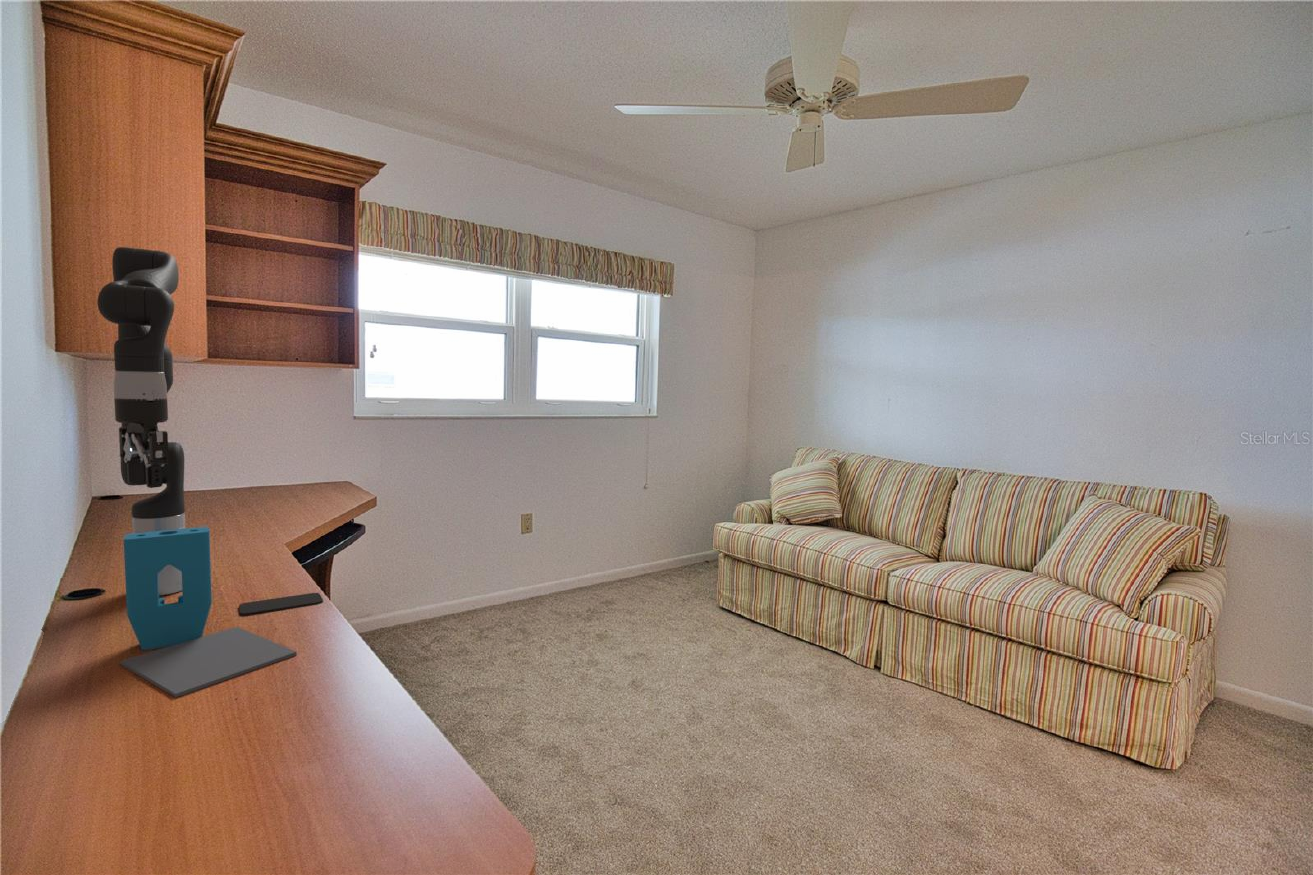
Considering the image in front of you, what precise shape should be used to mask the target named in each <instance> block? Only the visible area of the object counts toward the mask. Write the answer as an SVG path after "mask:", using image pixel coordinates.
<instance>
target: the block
mask: <svg viewBox="0 0 1313 875" xmlns="http://www.w3.org/2000/svg"><path fill="white" fill-rule="evenodd" d="M210 538H211V536H210V526H200V527H199V526H198V527H197V526H196V527H188V528H187V527H186V529H175V530H164V531H153V532H142V533H133V532H132V533H127V534H124V537H123V555H124V575H125V576H124V577H125V578H124V580H125V597H126V616H127V619H128V621H129V624H130V626H131V628H132V630H133V632H134V634H135V637H136V640H137V642H138V644H139V646H140V649H141V650H142V651H148V650H149V651H150V650H154V649H155V650H157V649H163V648H166V647H169V646H173V645H176V644H180V643H183V642H187V641H190V640H193V639H197V638H200V637H203V635H204V630H205V628H206V624H207V620H208V617H209V613H210V611H211V607H212V603H213V595H212V592H213V591H212V568H211V566H212V564H211V562H212V561H211V542H210V540H211V539H210ZM167 565H172V566H173V567H175V568H177V569H178V570H180V571H181V572H182V590H181V592H182V594H181V595H178V596H177V601H176V602H171V603H165V597H160V595H159V584H158V573H159V572H160V571H161V570H162V569H163V568H164V567H166V566H167Z"/></svg>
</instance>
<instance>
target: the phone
mask: <svg viewBox="0 0 1313 875" xmlns="http://www.w3.org/2000/svg"><path fill="white" fill-rule="evenodd" d="M323 603H324V599H323V598H322V596H321V594H320V593H319V592H309V593H304V594H302V593H301V594H296V595H290V596H282V597H276V598H270V599H262V600H255V601H249V602H248V601H247V602H243V603H239V605H238V608H239V611H238V612H239V616H241V617H246V616H254V615H260V614H265V613H266V614H267V613H272V612H278V611H285V610H290V609H297V608H304V607H308V606H315V605H319V604H323Z"/></svg>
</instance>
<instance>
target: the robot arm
mask: <svg viewBox="0 0 1313 875" xmlns="http://www.w3.org/2000/svg"><path fill="white" fill-rule="evenodd" d="M111 259H112V260H111V261H112V263H111V265H112V275H113V276H112V279H113V281H111V282H109V283H107V284H105V285H104V286H102V288H101V290H100V291H99V292H98V296H97V304H96V305H97V308H98V311H99V314H100V315H101V316H102V317H103V318H104V319H105V320H106V321H109V322H110V323H112V324H117V339H118V340H116V341H115V342H114V344H113V356H114V378H113V379H114V380H113V399H114V419H115V421H116V422H117V423H120V424H121V427H118V438H119V439H118V442H119V457H120V472H121V478H122V480H123V483H124V484H125V485H127V486H146V487H147V488H150V489H154V488H160V487H161V488H162V486H163V485H164V484H165V485H166V487H164V489H163V490H161V491H160V492H159V493H156V494H155V495H152V496H150V497H147V498H144V499H141V500H138V501H136V502H134V503H133V504H132V505H131V522H132V523H131V524H132V533H142V532H153V531H164V530H175V529H186V528H187V527H186V508H185V507H186V506H185V492H184V491H185V489H184V487H185V485H184V484H185V483H184V482H185V452H184V449H183V447H182V445H181V444H180V443H179V442H174V441H170V442H169V437H168V436H169V433H168V432H167V430H159V428H158V427H159V426H158V424H159V423H166V422H167V421H168V420H169V413H168V412H169V410H168V407H169V406H168V393H169V391H170V389H171V388H172V386H173V384H174V370H173V367H174V366H173V365H174V364H173V354H172V351H171V349H170V347H169V345H167V343H166V337H167V335H168V334H167V333H168V330H169V327H170V325H171V322H172V319H173V316H174V311H175V303H174V300H173V299H174V298H173V297H172V296H171V294H173V293H174V292H176V290H177V289H178V286H179V278H180V277H179V267H178V262H177V260H176V257H174V256H173V255H172V254H171V253H168V252H165V251H161V250H156V249H155V250H153V249H145V248H136V247H126V246H125V247H123V246H122V247H121V246H120V247H119V246H118V247H116V248H115V250H114V251H113V253H112V258H111ZM158 584H159V596H165V595H166V596H167V595H171V594H174V593H178V592H182V572H181V571H180V570H178V569H177V568H175V567H173V566H172V565H167V566H166V567H164V568H163V569H162V570H161V571H160V572H159V573H158Z"/></svg>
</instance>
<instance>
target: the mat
mask: <svg viewBox="0 0 1313 875" xmlns="http://www.w3.org/2000/svg"><path fill="white" fill-rule="evenodd" d="M297 655H298V654H297V650H294V649H291V648H289V647H286V646H284V645H282V644H279V643H277V642H275V641H272V640H270V639H268V638H265V637H263V636H260V635H259V634H256V633H254V632H251V631H248V629H247V630H246V629H244V628H242V627H239V626H235V627H231V628H228V629H224V630H221V631H218V632H214V633H210V634H208V635H205V636H202V637H200V638H197V639H193V640H190V641H187V642H183V643H180V644H176V645H173V646H167V647H162V648H158V649H155V650H153V651H149V652H145V653H142V654H140V655H135V656H132V657H129V658H126V659H122V660H119V665H120V666H122V667H123V668H125V669H127V670H129V672H132V673H134V674H136V675H137V676H139V677H141V679H143V680H146V682H149V683H150V684H151V685H154V686H156V687H157V688H159V689H160V690H162V691H164V692H166V693H167V694H169V695H171V696H173V697H174V698H178V697H182V696H186V695H188V694H190V693H193V692H196V691H199V690H202V689H204V688H208V687H211V686H212V685H215V684H218V683H219V684H220V683H221V682H224V681H226V680H227V681H228V680H231V679H233V678H236V677H238V676H240V675H244V674H247V673H250V672H252V671H255V670H257V669H260V668H264V667H266V666H269V665H273V664H275V663H278V662H280V661H284V660H287V659H289V658H292V657H294V656H297Z"/></svg>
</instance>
